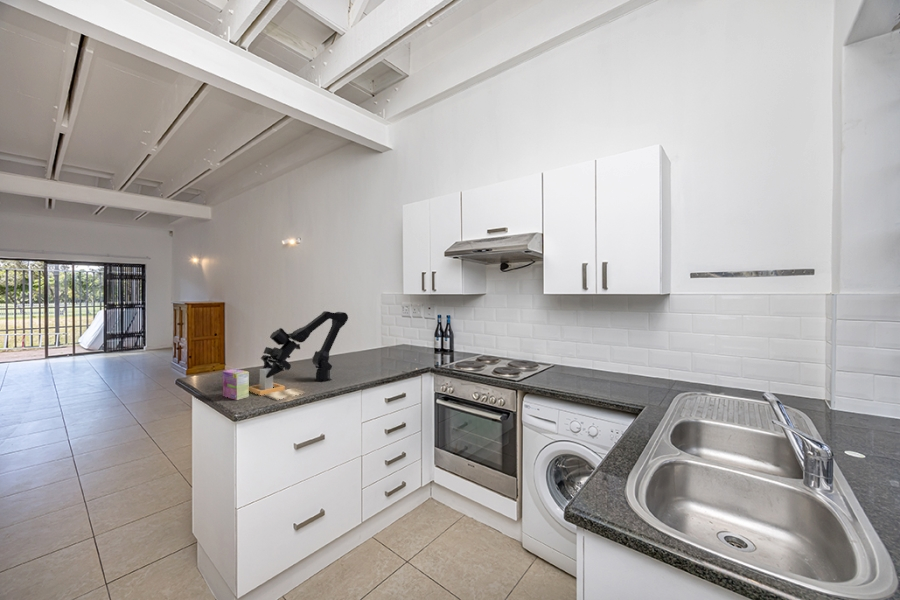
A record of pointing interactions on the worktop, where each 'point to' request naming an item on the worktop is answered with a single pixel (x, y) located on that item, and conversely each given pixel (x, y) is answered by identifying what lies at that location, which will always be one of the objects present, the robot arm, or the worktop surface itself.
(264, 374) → the block
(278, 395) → the board
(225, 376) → the box
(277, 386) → the square wooden frame
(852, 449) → the worktop surface
